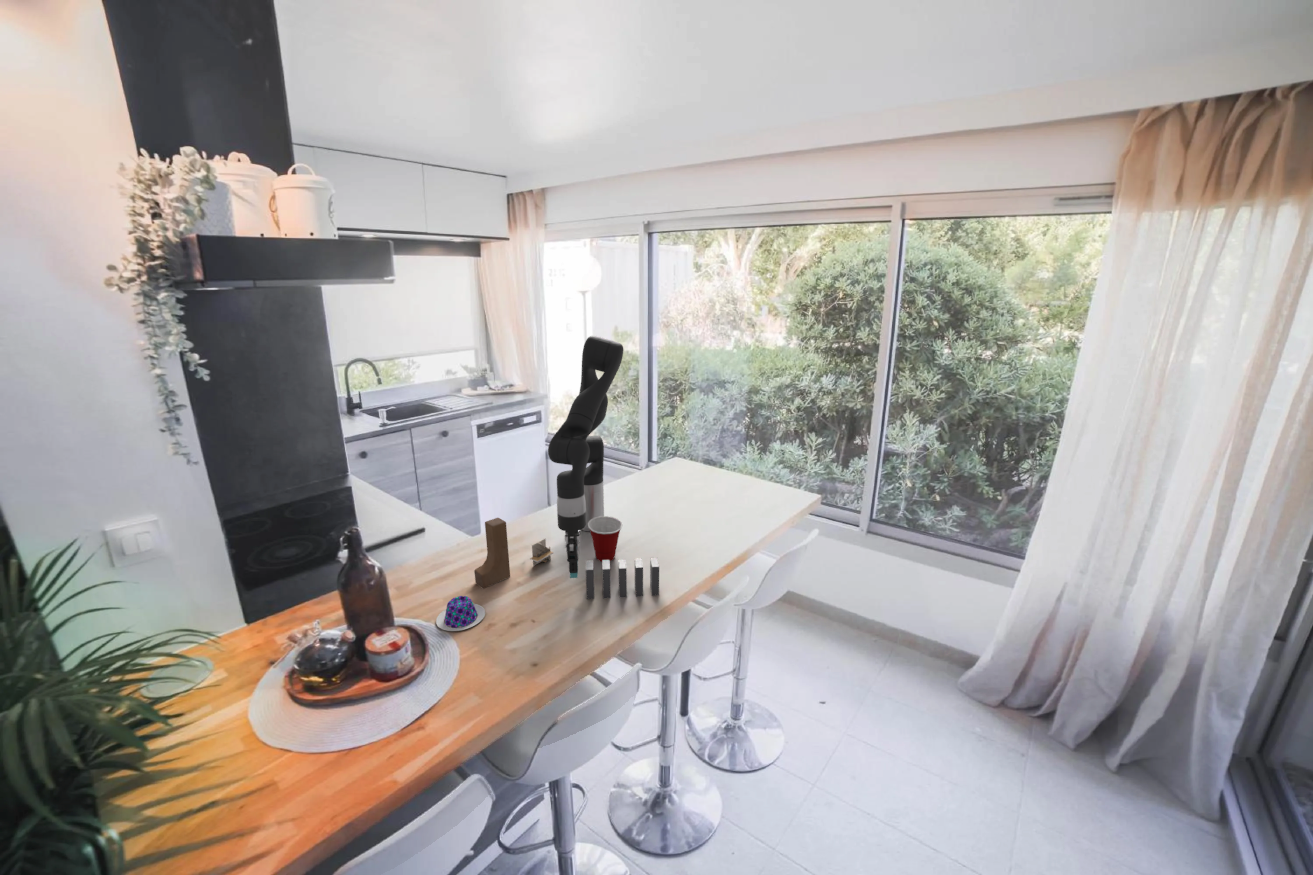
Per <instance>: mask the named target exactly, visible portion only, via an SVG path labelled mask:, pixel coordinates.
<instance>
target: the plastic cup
mask: <svg viewBox="0 0 1313 875" xmlns="http://www.w3.org/2000/svg"><path fill="white" fill-rule="evenodd" d="M588 528H589V529H590V531H589V532H590V536H591V541H592V544H593V549H594V553H595V557H596V560H597V561H598V562H601V563H602V560H610V562H611V561H613V560H614V559H615V556H616V552H617V546H618V541H619V536H620V533H621V532H620V531H621V530H622V528H623V522H622V521H621V520H620V519H618V518H616V517H613V516H608V515H607V516H605V515H604V516H601V517H596V518H593V519H591V520H590V521H589V522H588Z"/></svg>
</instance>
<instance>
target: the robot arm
mask: <svg viewBox="0 0 1313 875" xmlns="http://www.w3.org/2000/svg"><path fill="white" fill-rule="evenodd" d="M582 349H583V350H582V355H581V375H580V376H581V377H580V379H581V381H580V387H579V393H578V395H577V396H576V398H575V399H574V400H573V401H572V404H571V407H570V410H569V412H568V414H567V417H566V419H565V421H564V422H563V423H562V425H561V426H559V429H558V430H557V431H556V432H555V434H554V435H553V437H552V438H551V439H550V441H549V445H548V446H547V447H548V448H547V454H548V458H549V460H550V461H551V462H553V463H555V464H559V465H560V464H561V465H567V466H568V465H569V466H571V470H570V469H569V470H563V471H561V472H559V473H558V474H557V476H556V492H557V493H556V494H557V495H556V496H557V498H556V512H557V513H556V514H557V516H556V517H557V527H558V529H559V530H561V531H564V533H565V534H564V542H565V552H566V554H567V555H566V556H567V559H566V561H567V563H568V571H569V574H570V573H577V572H578V573H579V566H578V567H577V560H578V561H579V552H580V543H581V542H580V540H581V531H584V532H590V529H589V528H588V522H589V521H590V520H591V519H593V518H596V517H601V516H605V502H604V501H605V500H604V498H605V496H604V494H605V493H604V461H605V460H604V458H605V456H604V455H605V447H604V446H605V445H604V441H603V439H602V437H601V436H600V435H590V434H592V433H593V432H594V431H595V430H596V429H597V428H598V427H599V426H600V425H601V424H602V423H603V421H604V420H605V418H606V416H607V410H608V404H609V399H608V395H607V393H608V391H609V389H610V387H611V386H612V383H613V382H614V379H615V377H616V375H617V373H618V372H619V369H620V367H621V364H622V360H623V358H624V346H623V344H621V343H620V342H619V341H614V340H612V339H608V338H604V337H601V336H597V335H590V336H588V337H587V338H586V340H585V342H584V345H583V348H582ZM596 371H599V372H603V374H602V375H601V376H600V377H599V378H598V376H597V373H596ZM588 464H590V465H588ZM577 555H578V557H577Z"/></svg>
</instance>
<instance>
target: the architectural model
mask: <svg viewBox="0 0 1313 875" xmlns="http://www.w3.org/2000/svg"><path fill="white" fill-rule="evenodd" d="M546 540H547V539H546V538H543V539H541V540H540V541H537V542H535V543H534V544H531V551H532V552H531V554H532V557H530V558H529V559H530V560H531V561H532V566H533V567H535V566H536V565H537V564H540V563H542V562H543V563H547V560H549V561H552V555H554V551H551V548H550V547H547V543H546V542H547V541H546Z"/></svg>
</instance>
